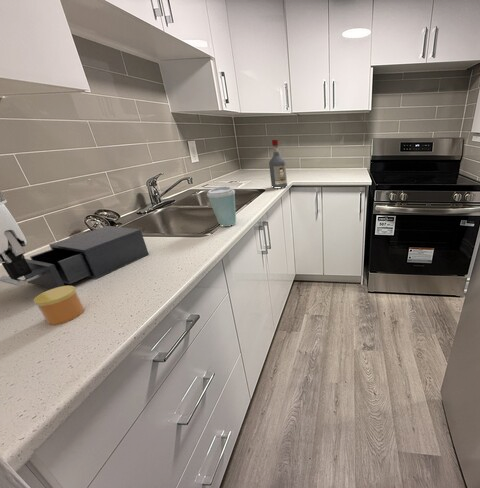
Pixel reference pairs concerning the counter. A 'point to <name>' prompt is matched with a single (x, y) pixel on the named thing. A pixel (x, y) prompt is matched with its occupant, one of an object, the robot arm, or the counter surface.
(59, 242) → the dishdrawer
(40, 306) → the jar
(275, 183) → the liquor
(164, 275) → the counter surface
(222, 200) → the disposable coffee cup
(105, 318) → the counter surface
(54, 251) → the drawer
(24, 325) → the counter surface
